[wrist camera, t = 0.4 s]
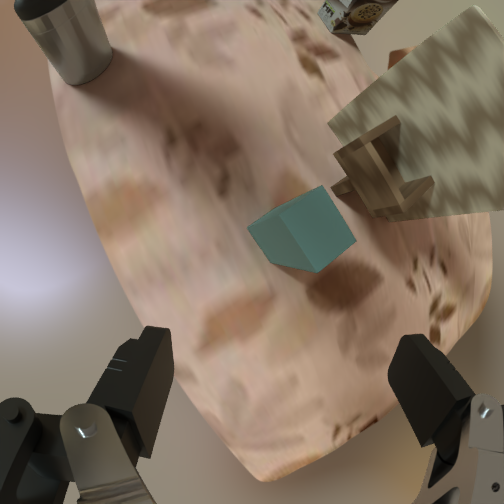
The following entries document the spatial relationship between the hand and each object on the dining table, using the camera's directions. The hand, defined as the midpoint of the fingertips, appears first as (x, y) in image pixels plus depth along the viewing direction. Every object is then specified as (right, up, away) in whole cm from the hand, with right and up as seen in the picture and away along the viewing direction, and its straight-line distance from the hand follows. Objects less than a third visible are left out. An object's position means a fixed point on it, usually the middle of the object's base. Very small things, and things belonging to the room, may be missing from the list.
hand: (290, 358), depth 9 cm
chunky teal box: (+1, +6, +28) cm, 28 cm away
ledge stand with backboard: (+13, +14, +30) cm, 35 cm away
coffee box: (+16, +48, +30) cm, 59 cm away
